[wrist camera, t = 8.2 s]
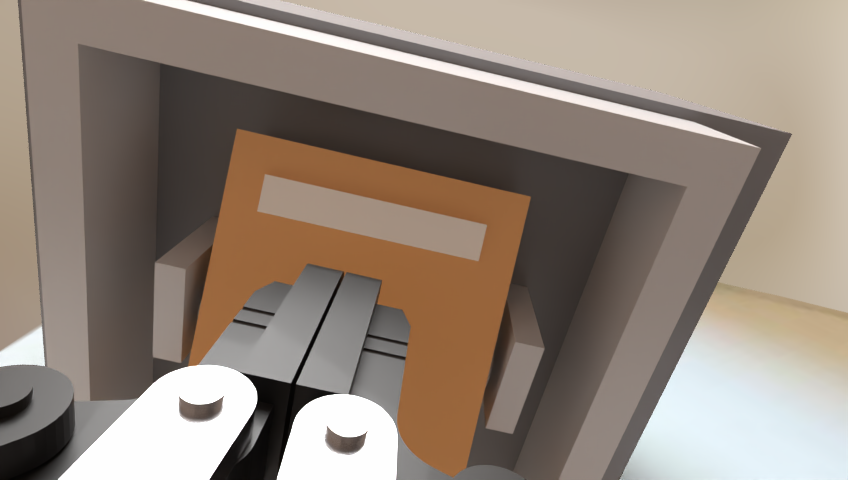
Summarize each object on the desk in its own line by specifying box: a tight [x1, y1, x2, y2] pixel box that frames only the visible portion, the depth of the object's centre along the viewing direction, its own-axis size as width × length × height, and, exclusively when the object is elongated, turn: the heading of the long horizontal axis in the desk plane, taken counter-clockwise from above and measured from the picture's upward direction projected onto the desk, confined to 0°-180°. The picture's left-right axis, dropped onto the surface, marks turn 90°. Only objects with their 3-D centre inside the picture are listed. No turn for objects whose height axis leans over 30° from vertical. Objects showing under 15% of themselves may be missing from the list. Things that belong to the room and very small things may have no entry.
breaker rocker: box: [188, 129, 531, 478], centre depth 15 cm, size 8×2×10 cm, turn 87°
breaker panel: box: [18, 0, 792, 480], centre depth 21 cm, size 22×14×18 cm, turn 87°
